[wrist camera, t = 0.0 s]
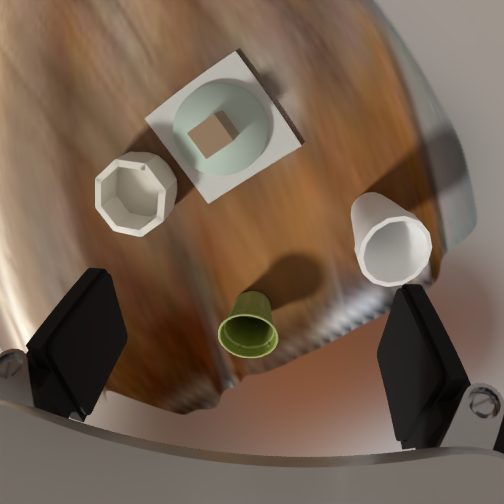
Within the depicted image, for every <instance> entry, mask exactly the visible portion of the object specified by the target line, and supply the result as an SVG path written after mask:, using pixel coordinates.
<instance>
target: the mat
mask: <svg viewBox="0 0 504 504" xmlns="http://www.w3.org/2000/svg"><path fill="white" fill-rule="evenodd" d="M211 84H230V85H235V86H238V87H240V88H242V89H244V90H246V91H248V92H249V93H250V94H252V95H253V96H254V97H255V98H256V99H257V100H258V102H259V103H260V104H261V106H262V108H263V110H264V112H265V114H266V118H267V123H268V135H267V140H266V144H265V146H264V149H263V151H262V153H261V154H260V156H259V157H258V158H257V160H256V161H255V162H254V163H253V164H252V165H250V166H249V167H248V168H246V169H244V170H242V171H241V172H238V173H235V174H231V175H225V176H216V175H210V174H206V173H203V172H201V171H199V170H197V169H195V168H194V167H192V166H191V165H190V164H188V163H187V162H186V161H185V159H184V158H183V157H182V156H181V154H180V153H179V151H178V149H177V147H176V144H175V141H174V136H173V123H174V118H175V115H176V112H177V110H178V108H179V106H180V105H181V103H182V102H183V101H184V100H185V98H186V97H187V96H189V95H190V94H191V93H192V92H194V91H195V90H197V89H199V88H201V87H204V86H207V85H211ZM145 120H146V121H147V123H148V124H149V125H150V127H151V128H152V129H153V131H154V132H155V133H156V135H157V136H158V137H159V139H160V140H161V141H162V143H163V144H164V145H165V147H166V148H167V149H168V151H169V152H170V153H171V155H172V156H173V157H174V159H175V160H176V161H177V163H178V164H179V165H180V167H181V168H182V169H183V171H184V172H185V173H186V175H187V176H188V177H189V179H190V180H191V181H192V183H193V184H194V185H195V187H196V188H197V189H198V191H199V192H200V193H201V195H202V196H203V197H204V199H205V200H206V201H207V203H208V204H209V203H210V202H212V201H213V200H215V199H217V198H218V197H220V196H221V195H223V194H224V193H226V192H227V191H229V190H231V189H232V188H234V187H235V186H237V185H238V184H240V183H242V182H243V181H245V180H246V179H248V178H250V177H251V176H253V175H254V174H256V173H258V172H259V171H261V170H262V169H264V168H266V167H267V166H269V165H271V164H272V163H274V162H275V161H277V160H279V159H280V158H282V157H284V156H285V155H287V154H289V153H290V152H292V151H294V150H296V149H297V148H299V147H301V144H300V142H299V141H298V139H297V138H296V136H295V135H294V133H293V131H292V130H291V128H290V127H289V125H288V124H287V122H286V121H285V119H284V118H283V116H282V115H281V113H280V112H279V111H278V109H277V108H276V106H275V105H274V103H273V102H272V100H271V99H270V97H269V96H268V95H267V93H266V92H265V90H264V89H263V88H262V86H261V85H260V83H259V82H258V81H257V79H256V78H255V76H254V75H253V74H252V72H251V71H250V70H249V68H248V67H247V66H246V64H245V63H244V62H243V60H242V59H241V58H240V56H239V55H238V54H237V52H236V51H235V52H233V53H232V54H230V55H229V56H227V57H226V58H224V59H223V60H221V61H220V62H218V63H217V64H215V65H214V66H212V67H211V68H210V69H208V70H207V71H205V72H204V73H202V74H201V75H200V76H198V77H197V78H196V79H194V80H193V81H191V82H190V83H189V84H187V85H186V86H185V87H183V88H182V89H181V90H180V91H178V92H177V93H176V94H174V95H173V96H172V97H171V98H169V99H168V100H167V101H166V102H164V103H163V104H162V105H161V106H159V107H158V108H157V109H156V110H154V111H153V112H152V113H151V114H150V115H148V116H147V117H146V118H145Z"/></svg>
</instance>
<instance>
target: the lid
mask: <svg viewBox="0 0 504 504" xmlns="http://www.w3.org/2000/svg"><path fill="white" fill-rule="evenodd" d="M267 135H268V123H267V118H266V114H265V112H264V110H263V108H262V106H261V104H260V103H259V102H258V100H257V99H256V98H255V97H254V96H253V95H252V94H250V93H249V92H248V91H246V90H244V89H242V88H240V87H238V86H235V85H230V84H211V85H207V86H204V87H201V88H199V89H197V90H195V91H194V92H192V93H191V94H190V95H189V96H187V97H186V98H185V100H184V101H183V102H182V103H181V105H180V106H179V108H178V110H177V112H176V115H175V118H174V123H173V136H174V141H175V144H176V147H177V149H178V151H179V153H180V154H181V156H182V157H183V158H184V159H185V161H186V162H187V163H188V164H190V165H191V166H192V167H194V168H195V169H197V170H199V171H201V172H203V173H206V174H210V175H216V176H225V175H231V174H235V173H238V172H241V171H242V170H244V169H246V168H248V167H249V166H250V165H252V164H253V163H254V162H255V161H256V160H257V158H258V157H259V156H260V154H261V153H262V151H263V149H264V146H265V144H266V140H267Z"/></svg>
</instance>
